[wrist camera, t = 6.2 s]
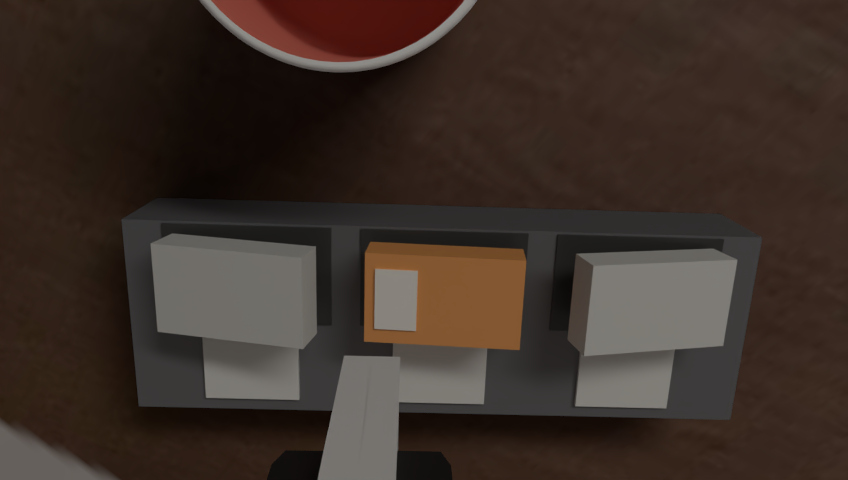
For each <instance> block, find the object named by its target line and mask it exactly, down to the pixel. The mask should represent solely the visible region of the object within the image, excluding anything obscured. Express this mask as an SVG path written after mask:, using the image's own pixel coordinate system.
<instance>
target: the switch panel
mask: <svg viewBox="0 0 848 480" xmlns="http://www.w3.org/2000/svg"><path fill="white" fill-rule="evenodd" d="M121 220H122V231H123V242H124V252H125V263H126V274H127V285H128V296H129V306H130V317H131V328H132V339H133V350H134V360H135V371H136V382H137V393H138V404H139V406H147V407H191V408H235V409H280V410H324V411H332V410H333V405H334V400H335V396H336V391H337V386H338V382H339V377H340V372H341V368H342V363H343V358H344V356H385V357H400V386H399V412H412V413H456V414H500V415H545V416H589V417H633V418H677V419H721V420H730V417H731V411H732V406H733V400H734V394H735V389H736V383H737V377H738V372H739V366H740V360H741V355H742V349H743V343H744V338H745V332H746V326H747V321H748V315H749V309H750V304H751V298H752V293H753V287H754V281H755V276H756V270H757V264H758V259H759V253H760V247H761V242H762V237H760V236H759V235H757V234H755V233H753V232H751V231H750V230H748V229H746V228H744V227H743V226H741V225H739V224H737V223H735V222H734V221H732V220H730V219H728V218H727V217H725V216H723V215H721V214H703V213H668V212H634V211H600V210H565V209H531V208H496V207H462V206H428V205H393V204H359V203H325V202H290V201H256V200H221V199H187V198H156V199H154V200H153V201H151V202H149V203H148V204H146V205H144V206H143V207H141V208H139V209H138V210H136V211H135V212H133V213H131V214H130V215H128V216H126V217H125V218H123V219H121ZM172 233H173V234H184V235H195V236H206V237H217V238H228V239H239V240H250V241H261V242H272V243H283V244H294V245H305V246H316V305H317V334H316V335H315V336H314V337H313V338H312V340H311V341H310V342H309V343H308V344H307V345H306V346H305V348H304V349H297V348H289V347H280V346H272V345H264V344H255V343H247V342H239V341H230V340H222V339H214V338H205V337H197V336H189V335H180V334H172V333H163V332H158V330H157V317H156V305H155V293H154V281H153V268H152V256H151V243H153V242H155V241H157V240H159V239H161V238H163V237H166V236H168V235H170V234H172ZM370 242H386V243H406V244H427V245H448V246H469V247H489V248H510V249H523V250H524V254H525V257H526V273H525V286H524V299H523V312H522V325H521V338H520V350H508V349H490V348H472V347H453V346H435V345H417V344H399V343H381V342H364V300H365V252H366V250H367V248H368V246H369V243H370ZM688 249H716V250H718V251H720V252H722V253H724V254H726V255H728V256H730V257H733V258H735V259H737V266H736V272H735V278H734V284H733V290H732V296H731V302H730V308H729V314H728V320H727V326H726V332H725V337H724V343H723V346H715V347H701V348H688V349H674V350H661V351H647V352H633V353H620V354H606V355H592V356H583V355H582V354H581V353H580V352H579V351H578V350H577V349H576V348H575V347H574V346H573V345H572V344H571V343H570V342H569V341H568V330H569V319H570V309H571V299H572V289H573V279H574V269H575V259H576V254H581V253H608V252H634V251H661V250H688Z"/></svg>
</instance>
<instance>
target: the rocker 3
mask: <svg viewBox="0 0 848 480" xmlns="http://www.w3.org/2000/svg"><path fill="white" fill-rule="evenodd" d="M736 266H737V259H735V258H733V257H730V256H728V255H726V254H724V253H722V252H720V251H718V250H716V249H688V250H661V251H634V252H608V253H581V254H576V259H575V269H574V279H573V289H572V299H571V309H570V319H569V330H568V341H569V342H570V343H571V344H572V345H573V346H574V347H575V348H576V349H577V350H578V351H579V352H580V353H581V354H582V355H583V356H592V355H606V354H620V353H633V352H647V351H661V350H674V349H688V348H701V347H715V346H723V343H724V337H725V332H726V326H727V320H728V314H729V308H730V302H731V296H732V290H733V284H734V278H735V272H736Z"/></svg>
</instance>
